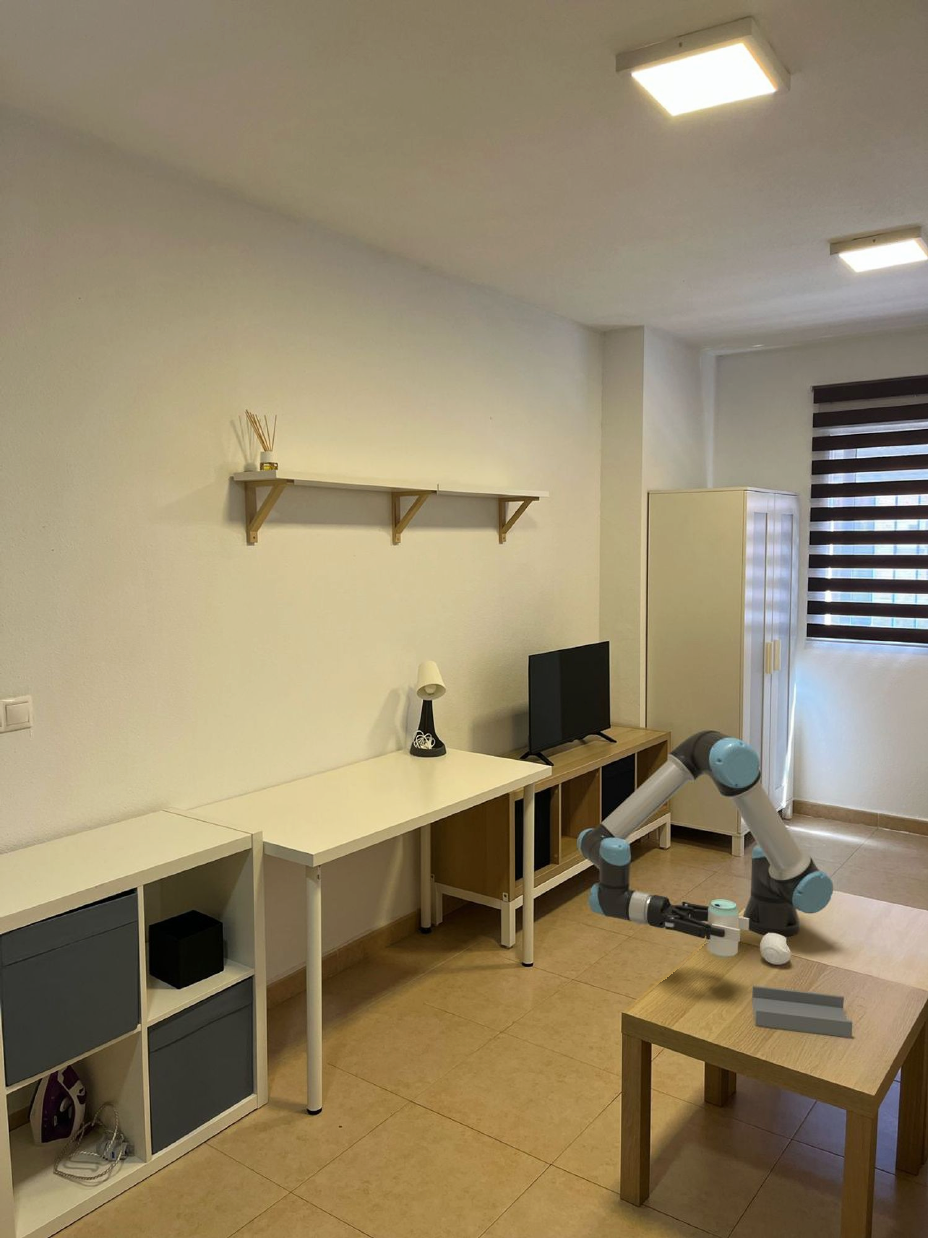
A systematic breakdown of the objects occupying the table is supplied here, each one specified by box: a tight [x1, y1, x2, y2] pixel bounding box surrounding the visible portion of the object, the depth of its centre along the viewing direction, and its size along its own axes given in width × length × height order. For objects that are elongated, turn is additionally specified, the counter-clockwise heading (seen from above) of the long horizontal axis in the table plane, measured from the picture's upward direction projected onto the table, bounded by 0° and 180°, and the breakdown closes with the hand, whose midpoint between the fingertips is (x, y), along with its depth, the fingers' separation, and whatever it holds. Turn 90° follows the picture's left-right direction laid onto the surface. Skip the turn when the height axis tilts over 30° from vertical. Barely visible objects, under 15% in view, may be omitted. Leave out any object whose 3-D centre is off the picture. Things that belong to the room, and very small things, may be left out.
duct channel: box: [751, 985, 853, 1039], centre depth 215 cm, size 13×20×4 cm, turn 77°
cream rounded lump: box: [759, 933, 793, 966], centre depth 244 cm, size 8×8×8 cm
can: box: [706, 898, 740, 958], centre depth 226 cm, size 7×7×12 cm
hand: (744, 930), depth 224 cm, fingers closed on can, 7 cm apart
